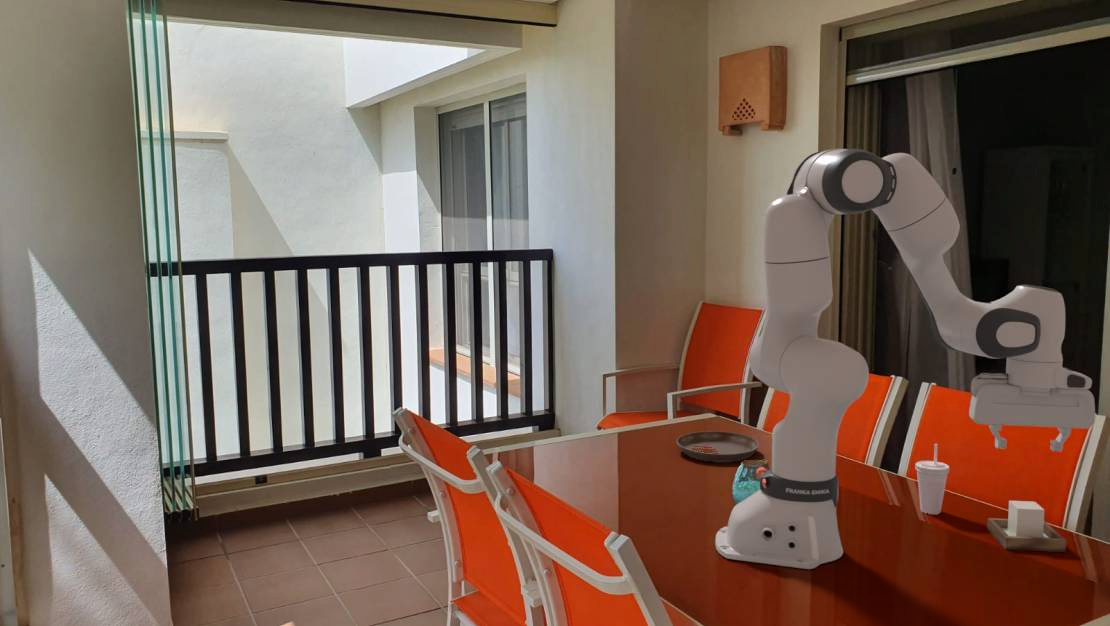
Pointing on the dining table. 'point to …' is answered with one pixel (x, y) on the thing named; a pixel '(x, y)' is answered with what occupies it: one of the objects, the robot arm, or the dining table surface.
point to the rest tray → (1026, 538)
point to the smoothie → (931, 484)
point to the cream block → (1025, 519)
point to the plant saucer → (718, 445)
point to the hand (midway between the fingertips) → (1028, 449)
